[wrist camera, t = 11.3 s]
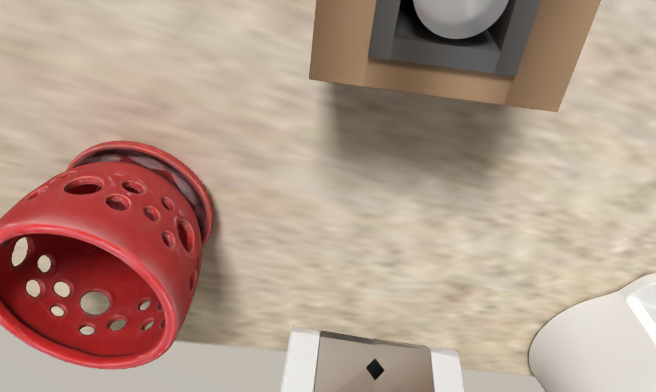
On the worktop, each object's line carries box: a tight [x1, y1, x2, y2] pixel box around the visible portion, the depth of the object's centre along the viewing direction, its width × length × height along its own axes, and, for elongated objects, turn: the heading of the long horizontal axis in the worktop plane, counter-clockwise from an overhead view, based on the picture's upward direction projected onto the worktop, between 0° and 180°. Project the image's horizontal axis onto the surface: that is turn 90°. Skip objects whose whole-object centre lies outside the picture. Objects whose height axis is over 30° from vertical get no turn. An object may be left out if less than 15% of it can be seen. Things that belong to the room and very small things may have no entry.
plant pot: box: [0, 141, 213, 369], centre depth 38 cm, size 13×13×12 cm
